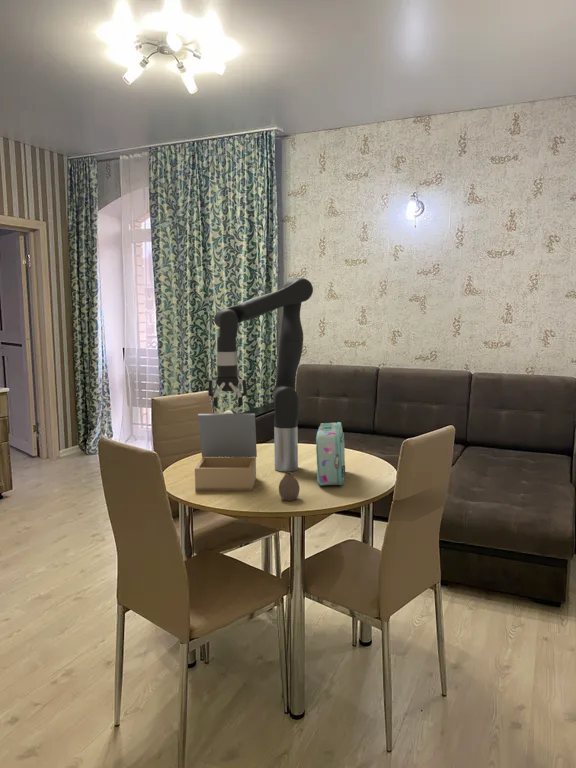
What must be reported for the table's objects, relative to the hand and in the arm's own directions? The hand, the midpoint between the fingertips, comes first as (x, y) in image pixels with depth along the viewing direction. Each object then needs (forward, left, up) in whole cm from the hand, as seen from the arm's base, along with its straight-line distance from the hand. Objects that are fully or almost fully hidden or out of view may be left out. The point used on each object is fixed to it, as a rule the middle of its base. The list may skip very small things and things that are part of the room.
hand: (228, 407), depth 210 cm
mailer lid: (0, +4, -10) cm, 11 cm away
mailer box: (0, +9, -27) cm, 28 cm away
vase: (-23, +26, -27) cm, 44 cm away
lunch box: (-38, +3, -27) cm, 47 cm away
